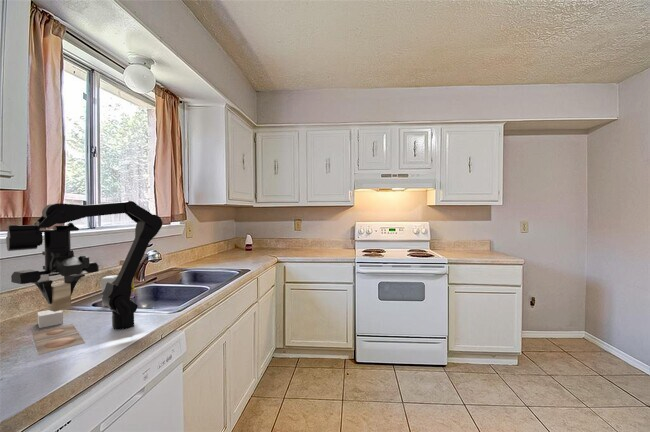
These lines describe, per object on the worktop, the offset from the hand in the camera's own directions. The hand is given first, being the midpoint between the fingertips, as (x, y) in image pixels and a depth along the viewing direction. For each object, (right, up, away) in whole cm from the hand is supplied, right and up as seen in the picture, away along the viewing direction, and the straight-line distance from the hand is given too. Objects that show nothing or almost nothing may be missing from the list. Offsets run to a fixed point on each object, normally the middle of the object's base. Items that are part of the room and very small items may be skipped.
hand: (59, 301), depth 92 cm
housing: (-16, -13, +16) cm, 26 cm away
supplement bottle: (-12, -12, +50) cm, 53 cm away
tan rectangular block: (0, -2, 0) cm, 2 cm away
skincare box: (-11, -12, +38) cm, 42 cm away
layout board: (-4, -13, +4) cm, 14 cm away
